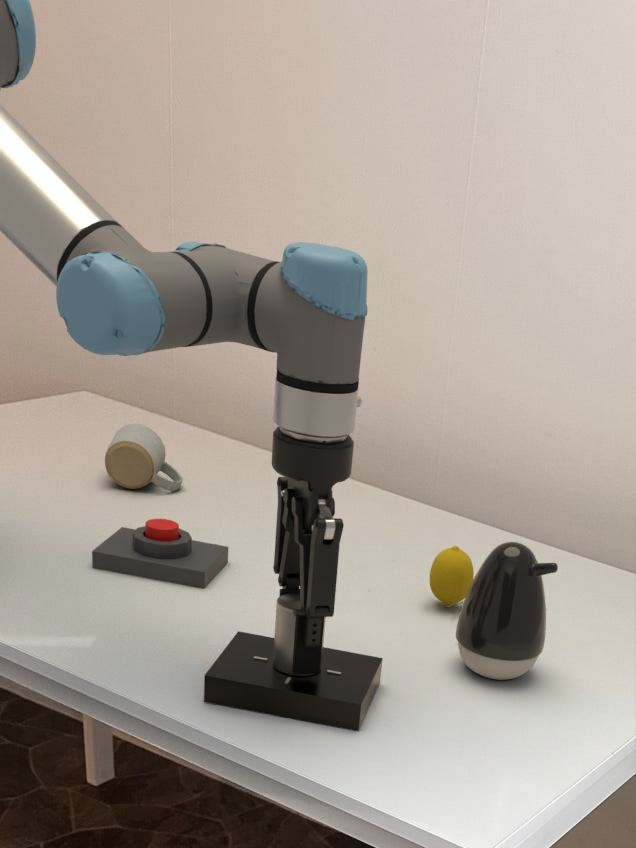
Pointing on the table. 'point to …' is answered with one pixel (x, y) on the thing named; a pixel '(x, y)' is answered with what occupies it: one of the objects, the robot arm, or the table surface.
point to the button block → (161, 557)
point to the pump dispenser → (504, 613)
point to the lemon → (451, 575)
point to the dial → (287, 633)
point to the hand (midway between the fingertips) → (297, 659)
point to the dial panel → (293, 684)
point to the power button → (162, 530)
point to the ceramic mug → (139, 459)
